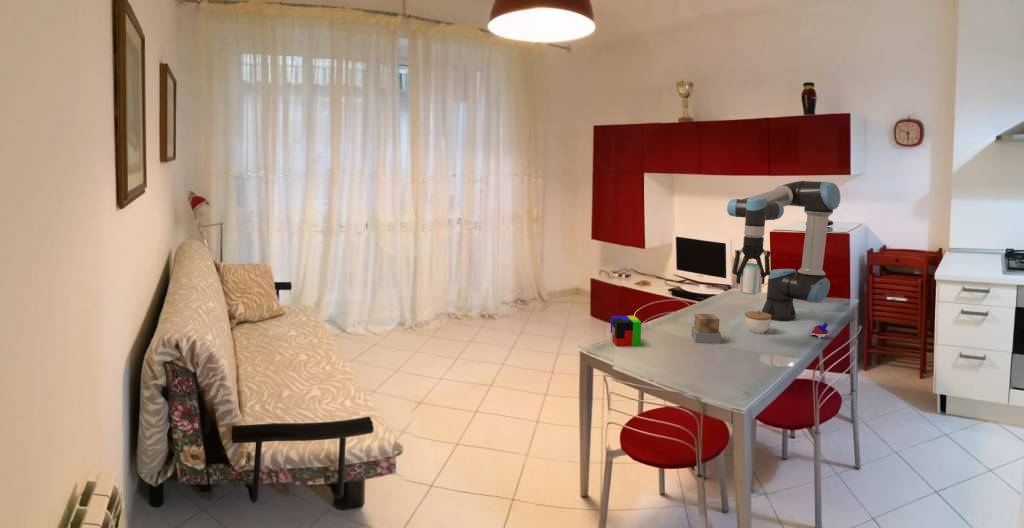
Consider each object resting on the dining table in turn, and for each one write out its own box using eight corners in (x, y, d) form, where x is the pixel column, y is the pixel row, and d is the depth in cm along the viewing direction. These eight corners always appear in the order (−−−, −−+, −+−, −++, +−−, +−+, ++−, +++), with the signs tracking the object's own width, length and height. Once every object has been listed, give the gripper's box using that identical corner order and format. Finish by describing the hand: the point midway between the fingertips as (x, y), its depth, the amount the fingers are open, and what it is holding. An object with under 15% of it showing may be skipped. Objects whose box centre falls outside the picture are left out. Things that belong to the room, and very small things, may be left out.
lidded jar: (769, 329, 277) (771, 308, 276) (770, 336, 268) (772, 314, 266) (743, 327, 281) (745, 306, 279) (744, 333, 271) (745, 312, 269)
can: (737, 291, 259) (739, 262, 257) (753, 291, 260) (755, 262, 257) (745, 295, 252) (747, 265, 250) (761, 294, 253) (764, 265, 251)
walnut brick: (713, 327, 265) (714, 314, 264) (718, 333, 257) (719, 319, 256) (694, 327, 265) (694, 313, 264) (699, 332, 257) (699, 318, 256)
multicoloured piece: (817, 341, 265) (826, 327, 261) (809, 335, 268) (818, 321, 264) (822, 340, 267) (831, 326, 263) (814, 333, 270) (824, 320, 265)
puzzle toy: (610, 339, 262) (611, 316, 260) (633, 338, 263) (634, 315, 261) (616, 346, 252) (617, 322, 250) (640, 346, 253) (641, 322, 251)
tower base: (715, 336, 266) (715, 327, 266) (720, 343, 257) (721, 334, 256) (691, 335, 267) (691, 326, 267) (695, 342, 258) (696, 333, 257)
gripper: (776, 235, 254) (771, 290, 259) (726, 234, 256) (722, 289, 260) (782, 237, 247) (777, 294, 251) (730, 236, 249) (726, 293, 253)
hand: (749, 291), depth 256 cm, fingers closed on can, 7 cm apart
